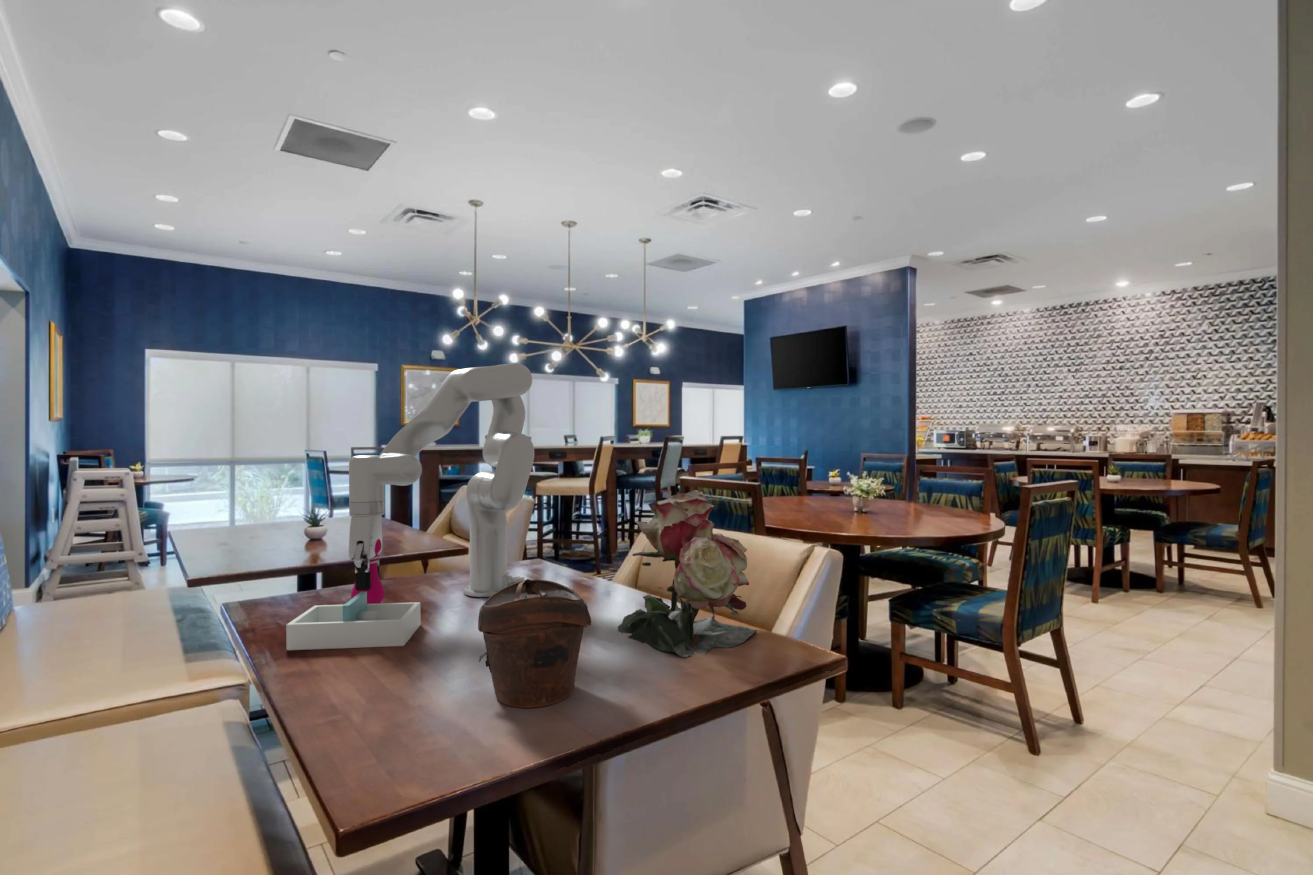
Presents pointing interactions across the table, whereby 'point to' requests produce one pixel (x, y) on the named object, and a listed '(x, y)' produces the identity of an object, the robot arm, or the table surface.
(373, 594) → the pepper mill
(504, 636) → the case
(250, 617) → the table surface
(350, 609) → the pusher
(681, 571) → the rose bouquet
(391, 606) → the white tray
